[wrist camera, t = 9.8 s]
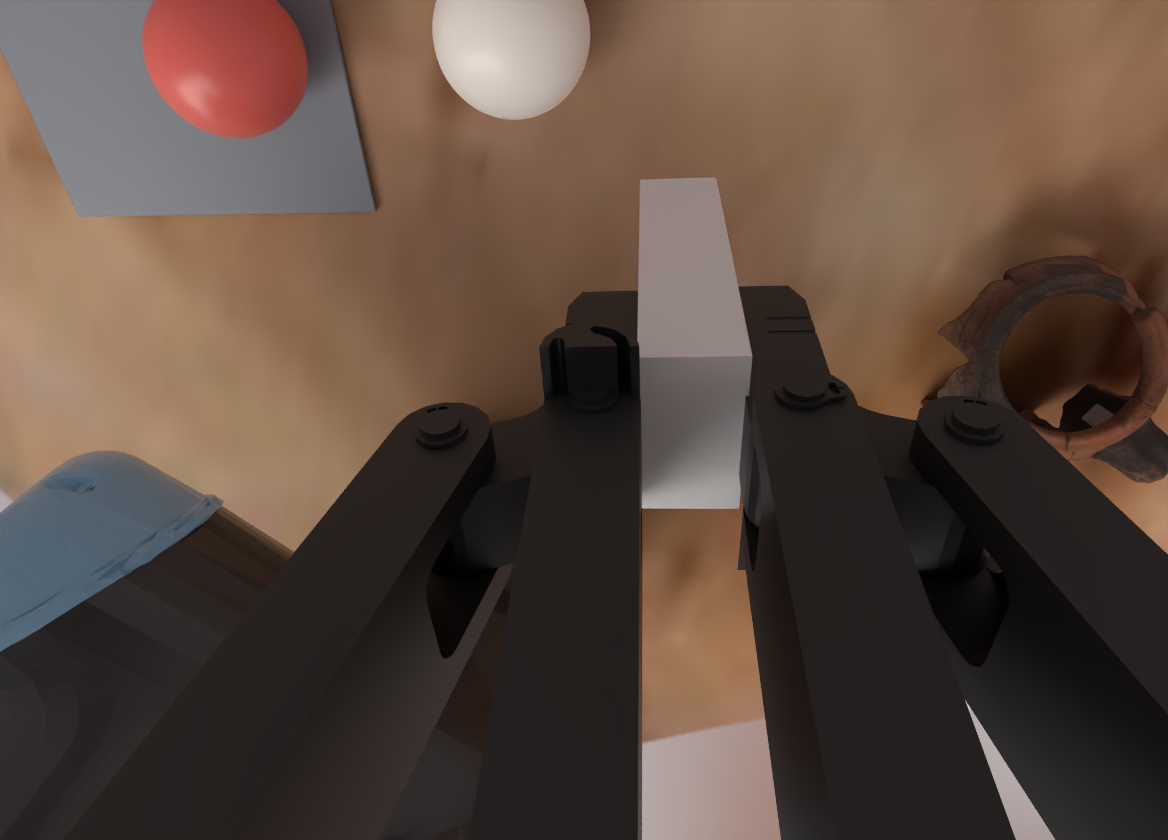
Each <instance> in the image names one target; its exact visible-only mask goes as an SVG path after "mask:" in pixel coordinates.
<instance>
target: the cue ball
mask: <svg viewBox="0 0 1168 840" xmlns="http://www.w3.org/2000/svg"><path fill="white" fill-rule="evenodd" d="M432 36H433V43H434V49H435V52H436V56H437V60H438V62H439V65H440V67H441V70H442V72H443V74H444V76H445V77H446V79H447V81H448V82H449V84H450V85H451V86H452V88H453V89H454V90H455V91H456V92H457V94H458V95H459V96H460V97H461V98H462V99H464V100H465V101H466V102H467V103H468V104H469V105H471V106H472V107H474V108H476V109H477V110H479V111H481V112H483V113H485V114H487V115H490V116H493V117H497V118H502V119H508V120H521V119H528V118H532V117H536V116H539V115H541V114H544V113H546V112H548V111H549V110H551V109H553V108H554V107H556V106H557V105H558V104H560V103H561V102H562V101H563V100H564V99H565V98H566V97H567V96H568V95H569V94H570V93H571V91H572V90H573V89H574V88H575V86H576V84H577V83H578V81H579V79H580V77H581V75H582V73H583V71H584V68H585V65H586V62H587V58H588V53H589V48H590V23H589V16H588V12H587V9H586V5H585V3H584V0H436V4H435V8H434V13H433V22H432Z"/></svg>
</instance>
